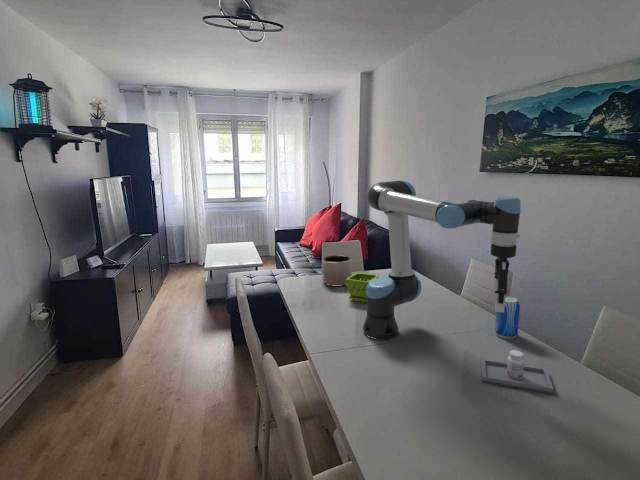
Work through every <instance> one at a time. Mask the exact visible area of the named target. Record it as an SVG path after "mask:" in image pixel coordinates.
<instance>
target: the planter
mask: <svg viewBox="0 0 640 480" xmlns="http://www.w3.org/2000/svg"><path fill="white" fill-rule="evenodd" d="M352 275H353V274H352V258H351V257H350V256H348V255H343V254H342V255H341V254H336V255H328V256H325V257H323V258H322V277H323V279H322V281H323V284H325V283H326V284H329V285H345V286H347V285H346V279H347V278H349V277H350V276H352ZM326 284H325V285H326ZM329 285H328V286H329Z"/></svg>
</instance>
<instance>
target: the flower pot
mask: <svg viewBox="0 0 640 480" xmlns="http://www.w3.org/2000/svg"><path fill="white" fill-rule="evenodd" d="M351 275H352V276H350V277H349V278H347V279H346V284H347V285H346V287H347V291H348V293H349V295H348V298H349V300H351V299H352V300H351V301H354V300H357V301H356V302H359V301H362V302H361V303H365V302H367V295H366V291H367V284H368V282H369V281H371V280H373V279H375V278H380V277H379V275H378V274H370V273H362V272H356V273H354V274H351Z"/></svg>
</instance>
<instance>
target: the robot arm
mask: <svg viewBox="0 0 640 480" xmlns="http://www.w3.org/2000/svg"><path fill="white" fill-rule="evenodd" d="M366 198H367V202H368V204H369V206H370V207H371V208H373V209H374V210H377V211H379V212H380V211H381V212H383V213H384V214H385V215H386V216H387V222H388V235H389V236H388V237H389V249H390V250H389V251H390V264H391V270H390V271H389V272H388V276H387V277H385V276H383V277H379V278H375V279H373V280H371V281H369V282H368V284H367V291H366V295H367V303H366V316H365V319H364V322H363V325H362V332H363V331H364V333H365V334H366V335H368V336H370V337H373V338H376V339H388V340H391V339H390V338H392V339H394V338H396V337H397V336H398V334H399V327H398V322H397V321H396V317H395V307H396V306H397V307H398V306H400V305H404V304H405V303H409V302H410V303H411V302H412V301H413V300H416V299H417V298H418V297H419V296H420V294H421V292H422V283H421V280H420V279H419V277H418V276H417V275H416V272H415V271H414V270H413V269H412V259H411V244H410V243H411V242H410V227H409V226H410V225H409V216H410V217H414V218H418V219H421V220H425V221H430V222H433V223H437V224H439V225H440V227H442V228H443V229H457V228H460V227H464V226H469V225H474V224H485V225H492V230H491V245H490V255H491V256H494V257H496V258H495V261H494V262H495V263H494V264H495V265H494V279H493V291H492V297H493V298H495V306H494V312H495V313H496V312H503V313H504V309H505V299H506V296H507V294H508V278H509V277H508V274H509V267H510V262H509V260H508V259H511V258H512V259H513V258H515V257H516V255H517V244H518V238H520V234H518V233H519V225H520V224H519V223H520V216H521V213H522V211H521V203H522V202H521V199H520V198H518V197H516V196H498V197H496V198H495V199H494V202H493V201H486V200H485V201H483V200H476V199H471V200H470V199H467V200H464V201H462V202H461V203H454V202H453V203H452V202H448V201H444V200H439V199H433V198H429V197H424V196H418V195H417V194H416V190H415V188H414V186H413V185H412V184H411V182H409V181H406V180H394V181H393V180H392V181H379V182H376V183H374V184H373V185H372V186H370V188H369V189H368V192H367V197H366ZM364 333H363V334H364ZM366 335H365V336H366ZM393 337H394V338H393ZM376 339H375V340H376Z"/></svg>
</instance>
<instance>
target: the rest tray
mask: <svg viewBox="0 0 640 480" xmlns="http://www.w3.org/2000/svg"><path fill="white" fill-rule="evenodd" d="M507 364H508V361H507V362H506V361H499V360H493V359H486V358H481V373H482V376H481V379H482V382H484V383H487V384H488V383H489V384H493V385H501V386H505V387H506V386H507V387H511V388H515V389H516V388H517V389H523V390H527V391H534V392H539V393H546V394H551V395H554V391H555V390H554V389H555V388H554V385H553V383H552V381H551V377H550V375H549V372H548V369H547V368H546V367H539V366H532V365H528V364H527V365H526V364H524V368H523V378H522V379H520V380H516V379H512V378H510V377H509V376H508V375H507Z"/></svg>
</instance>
